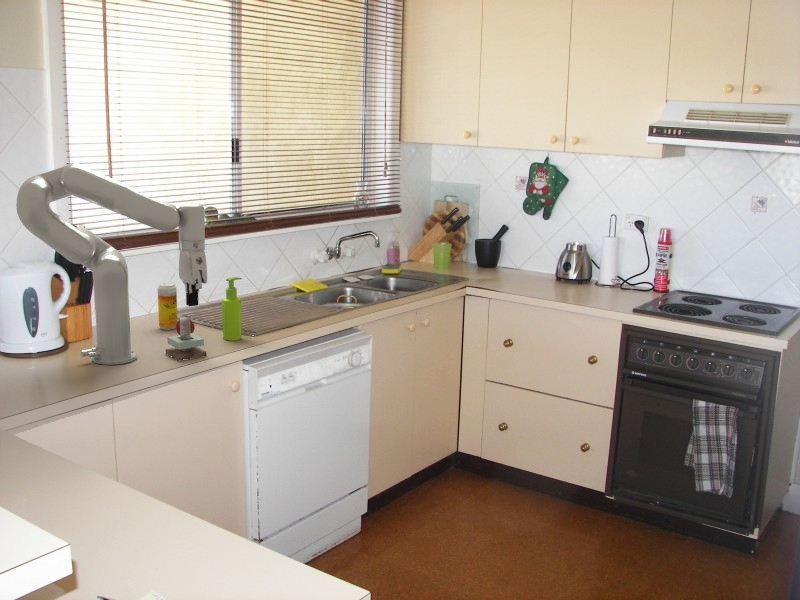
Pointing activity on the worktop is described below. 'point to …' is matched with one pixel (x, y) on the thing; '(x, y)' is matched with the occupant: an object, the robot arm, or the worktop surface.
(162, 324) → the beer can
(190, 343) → the collar
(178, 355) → the post stand
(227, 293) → the soap dispenser
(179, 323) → the onion
